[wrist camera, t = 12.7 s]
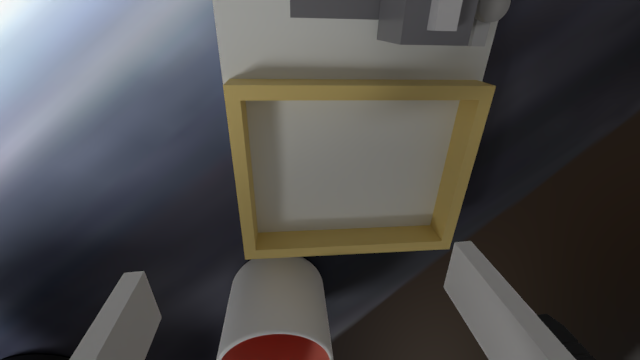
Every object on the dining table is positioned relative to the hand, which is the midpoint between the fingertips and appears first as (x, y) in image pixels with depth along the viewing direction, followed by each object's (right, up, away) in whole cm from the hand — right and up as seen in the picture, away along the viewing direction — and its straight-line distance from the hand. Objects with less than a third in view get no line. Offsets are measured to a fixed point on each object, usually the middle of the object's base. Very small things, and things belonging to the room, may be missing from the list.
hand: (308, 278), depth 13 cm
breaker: (+7, +16, +7) cm, 19 cm away
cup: (-4, -7, +21) cm, 23 cm away
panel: (+3, +13, +11) cm, 18 cm away
